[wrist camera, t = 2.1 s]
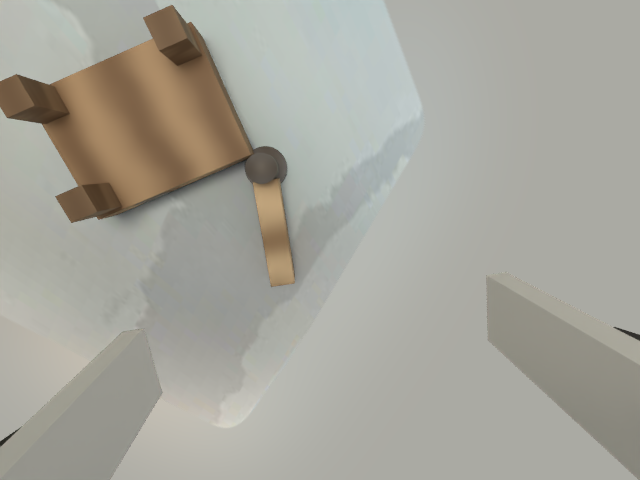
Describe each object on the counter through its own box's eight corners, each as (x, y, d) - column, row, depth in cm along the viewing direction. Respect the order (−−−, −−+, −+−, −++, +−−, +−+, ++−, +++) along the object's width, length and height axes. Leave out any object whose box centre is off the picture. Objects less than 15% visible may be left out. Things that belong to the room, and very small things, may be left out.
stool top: (136, 246, 36) (94, 266, 28) (54, 102, 32) (-18, 84, 25) (293, 179, 35) (292, 182, 28) (228, 25, 32) (206, -16, 24)
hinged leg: (250, 156, 34) (242, 154, 30) (276, 152, 34) (273, 150, 30) (271, 279, 37) (267, 294, 33) (296, 275, 37) (295, 290, 33)
